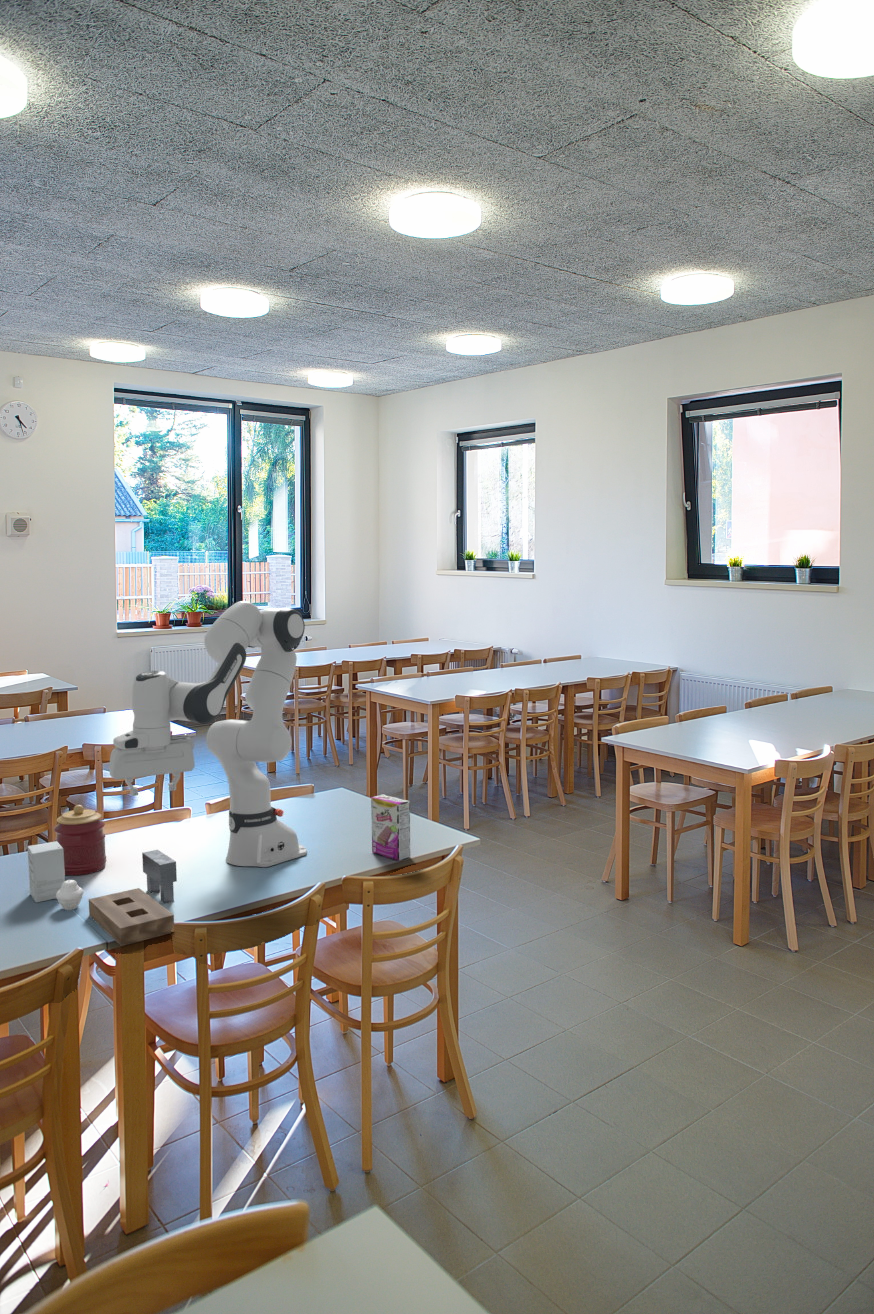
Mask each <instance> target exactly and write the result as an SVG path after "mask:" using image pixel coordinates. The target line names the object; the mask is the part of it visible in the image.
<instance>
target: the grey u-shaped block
mask: <svg viewBox="0 0 874 1314" xmlns="http://www.w3.org/2000/svg"><path fill="white" fill-rule="evenodd" d="M141 856H142V872H143V873H144V874H145V875H146V885H147V892H148V893H150V894H154V893H158V892H159V893H160V902H162V903H163V904H169V903H174V902H175V899H174V898H175V897H174V896H175V895H174V894H175V893H174V883H175V882H178V878H177V876H178V875H177V861H176V860H174V859H173V858H171V857H170V856H168V855H166V854H165V853H163V852H162V851H161V850H159V849H153V850H149V851H144V852H142V855H141Z"/></svg>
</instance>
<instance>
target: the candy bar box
mask: <svg viewBox="0 0 874 1314" xmlns="http://www.w3.org/2000/svg"><path fill="white" fill-rule="evenodd" d="M370 798H371V801H370V802H371V850H372V851H371V852H372V854H376V855H379V856H382V857H385V858H389V859H392V860H395V861H397V862H400V861H403V860H406V859H409V858H411V809H410V808H411V807H410V806H411V805H410V803H411V802H410V800H407V799H403V798H399V797H395V796H391V795H387V794H384V793H383V794H382V793H381V794H378V795H375V796H371V797H370Z"/></svg>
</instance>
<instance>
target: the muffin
mask: <svg viewBox="0 0 874 1314" xmlns="http://www.w3.org/2000/svg"><path fill="white" fill-rule="evenodd" d="M83 895H84V889H83V888H82V887H80V886H79V885H78V882H77V881H76V880H74V879H67V880H65V881H64V882H63V883H62V885H61V888H60V890H59V891H58V892H57V893H56V899H57V902H58V903H59V904H60V907H62V909H63V910H64V909H65V910H64V911H72V909H73V910H75V909H77V908H78V907H79V904H80V903H81V901H82V899H83Z"/></svg>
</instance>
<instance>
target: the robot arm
mask: <svg viewBox="0 0 874 1314" xmlns="http://www.w3.org/2000/svg"><path fill="white" fill-rule="evenodd" d="M305 626H306V625H305V621H304V618H303V616H302V613H300V611H298V610H297V609H294V608H289V607H282V608H280V607H277V608H276V607H273V608H272V607H269V608H264V609H263V608H262V609H259V608H258V606H256V605H255V604H254V603H252V602H250V601H248V600H247V601H246V600H240V601H236V602H235V603H234V604H232V605H231V606H229V607H228V608H227V609H226V610H225V611H224V612H222V613H221V614H220V616H219V617H217V618H216V620H215V621H214V622H213V624H211V626H210V627H209V628H208V630H207V631H206V633H205V635H204V646H205V649H206V652H207V653H208V655H209V656H210V657H211V659H212V660H213V661H215V662H216V663H218V664H217V665H216V667H215V669H214V671H213V672H212V673H211V676H210V677H209V679H208V680H205V681H201V682H197V683H196V682H185V681H179V680H177V679H174V678H171V677H170V676H169V675H167V673H166V672H165V671H163V670H151V671H150V670H148V671H145V672H141V673H139V674H138V675H136V676H135V678H134V680H133V684H132V692H131V694H132V695H131V705H132V712H133V717H134V719H133V722H132V730H131V731H130V730H129V732H126V733H124V734H121V735H117V736H116V737H114V738H113V741H112V742H113V745H114V748H113V749H112V751H111V752H110V759H109V771H108V772H109V776H110V777H111V778H112V779H114V780H115V781H117V780H119V781H120V780H124V781H125V784H126V785H127V786H128V788H129V794H130V796H131V797H135V796H138V795H139V788H138V787H137V786H136V787H135V786H134V785H133V784H132V783H133V782H134V779H135V778H144V777H151V776H160V775H170V774H172V776H173V778H172V780H171V782H168V791H170V792H174V791H177V784H178V782H179V780H180V778H182V777H181V774H182V773H186V772H191V771H193V770H194V768H195V757H194V750H193V749H194V747H195V744H194V742H195V741H194V738H193V737H192V736H191V735H188V734H185V733H184V734H179V735H178V734H176V735H175V734H174V735H171V733H172V732H171V721H170V720H176V721H177V720H178V721H186V722H192V723H196V724H199V725H209V724H211V723H212V724H211V725H210V727H209V728H208V731H207V733H206V738H205V740H206V745H207V749H208V750H209V752H210V753H211V754H212V755H214V756H215V758H216V759H217V760H218V761H219V763H220V765H221V766H222V769H223V771H224V773H225V775H226V778H227V782H228V790H229V791H228V792H229V805H230V807H229V808H230V809H229V810H228V826H229V843H228V844H229V845H228V849H227V854H226V858H225V862H227V863H228V864H229V865H233V866H239V867H259V868H260V867H261V868H268V867H271V866H275V865H278V864H282V863H285V862H287V861H291V860H294V859H297V858H300V857H303V856H306V855H307V853H308V851H307V849H306V847H305V846H304V845H302V844H300V843H299V839H298V835H297V834H296V833H297V832H296V831H295V830H294V829H293V828H292V827H290V826H288V825H287V824H285V823H284V822H283V821H281V820H279V819H278V818H277V817H279V818H280V817H283V815H284V813H285V812H284V810H283V809H280V808H275V807H273V806H272V805H271V802H272V801H271V783H270V779H269V778H268V777H267V776H266V775H265V774H264V773H263V772H262V771H261V770H260V769H259V767H258V765H257V763H264V764H265V763H266V764H267V763H274V762H282V761H283V760H284V759H286V757H287V756H288V755H289V753H290V752H291V748H292V741H293V740H292V739H293V738H292V736H291V732H290V730H288V728H287V727H286V725H285V723H284V719H283V711H284V706H285V703H286V700H287V696H288V693H289V691H290V688H291V685H292V682H293V679H294V676H295V672H296V668H297V667H296V666H297V665H296V664H297V659H298V658H297V654H296V652H295V650H296V649H298V647H299V646H300V643H301V641H302V639H303V636H304V633H305V628H306V627H305ZM247 648H253V649H254V648H260V651H261V652H260V653H261V654H260V658H259V661H258V662H257V664H256V666H255V669H254V671H253V673H252V676H251V679H250V681H249V682H248V687H247V689H246V691H245V694H244V695H245V696H244V698H245V703H246V705H248V707H249V708H250V709H251V710H252V711H253V713H252V717H251V718H250V719H249V720H242V719H233V718H232V719H225V720H219V721H216V719H218V717H219V716H220V715H221V713H222V711H223V708H224V705H225V701H226V700H227V697H228V695H229V693H230V691H231V690H232V688H233V685H235V682H236V681H237V679H238V678H239V675H240V673H241V672H242V670H243V668H244V665H245V663H246V661H247V651H246V650H247ZM215 721H216V722H215ZM256 762H257V763H256Z"/></svg>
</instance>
